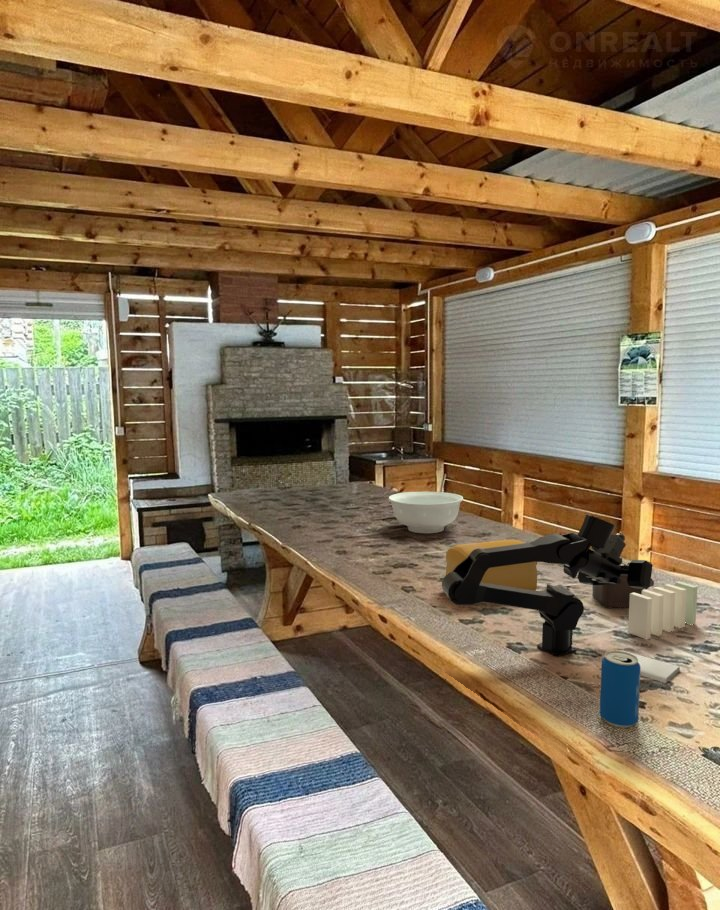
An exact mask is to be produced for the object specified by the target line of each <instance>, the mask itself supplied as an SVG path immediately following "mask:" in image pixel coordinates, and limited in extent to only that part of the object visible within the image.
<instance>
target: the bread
mask: <svg viewBox="0 0 720 910" xmlns="http://www.w3.org/2000/svg"><path fill="white" fill-rule="evenodd" d="M523 543H525V542H524V541H522V540H518V539H502V540H492V541H491V540H490V541H482V542H471V543H459V544H455V545H453V546H450V548H448V550H447V551H446V553H445V561H446V568H445V576H446V575H447V574H449V573H450V572H452V571H453V570H454V569H455V567H456V566H457V565H458V564H459V563H461V562H462V561H463V560H465V559H466V558H467V557H468V556H469V555H470V553H471V552H472V551H473V550H475V549H478V548H480V549H485V548H493V547H501V546H508V545H516V544H523ZM537 566H538V562H529V563H522V564H514V565H507V566H500V567H492V568H488V570H487V571H486V572H485V574H484V576H483V578H482V580H481V582H483V583H489V584H496V585H502V586H509V587H515V588H521V589H528V590H534V591H537V586H538V569H537Z"/></svg>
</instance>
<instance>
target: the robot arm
mask: <svg viewBox="0 0 720 910" xmlns="http://www.w3.org/2000/svg"><path fill="white" fill-rule="evenodd" d="M615 529H616V525H615V524H613V523H611V522H609V521H606V520H605V519H602V518H599V517H597V516H594V515H591V514H589V513H587V514H585V516H584V518H583V522H582V525H581V526H580V529H579V531H578V533H576V532H573V531H572V532H571V531H570V532H568V533H563V534H559V533H549V534H546V535H544V536H540V537H538V538H537V539H535V540H533V541H530V542H524V543H523V544H516V545H508V546H501V547H493V548H485V549H480V548H478V549H475V550H473V551H472V552H471V553H470V555H469V556H468V557H467V558H466V559H465V560H463V561H462V562H461V563H459V564H458V565H457V566H456V567H455V569H454V570H453V571H452V572H450V573H449V574H447V575H446V574H445V576H444V577H443V578H442V581H441V588H442V591H443V592H444V594H445V595H446V596H447V597H448V598H449V600H450V601H451V602H452V604H454V605H457V606H475V605H478V604H481V603H488V604H494V605H500V606H506V607H507V606H508V607H514V608H521V609H526V610H533V611H538V613H539V616H540V617H539V618H541V619H543V620H544V622H543V623H542V629H541V630H542V637H541V638H542V639H541V643H537V644H536V647H537V648H539V649H541V650H543V651H544V652H547V653H549V654H551V655H554V656H555V657H560V656H561V657H562V656H563V655H567V654H571V653H574V652H576V651H577V648H576V647H574V646H572V645H573V632H574V630H576V628H577V625H578V624H579V623H578V622H579V621H580V620H579V619H580V618H581V617H582V616H583V613H584V608H585V607H584V604H583V601H582V600H581V599H580V598H578V597H577V596H576V595H575V594H574V593H573V592H571V591H570V590H568V589H567V588H566V587H565V586H563V585H559V586H556V585H552V584H548V583H547V584H546V589H544V590H536V591H534V590H528V589H521V588H515V587H509V586H502V585H496V584H489V583H483V582H481V580H482V578H483V576H484V574H485V572H486V571H487V570H488V568H492V567H500V566H507V565H514V564H522V563H529V562H537V563H545V564H553V565H554V564H555V565H556V564H557V565H563V573H564V574H566V575H568V576H569V577H571V578H573V579H576V577H577V580H578V582H579V583H580V584H583V585H588V586H593V585H598V586H599V585H611V584H620V583H621V579H620V578H619V577H620V576H628V577H627V582H628V585H629V586H630V587H633V588H635V589H643V590H648V589H649V588H653V587H654V586H655V582H654V580H653V578H652V574H653V573H652V572H653V564H652V562H651V561H648V560H645V559H632V560H631V561H629V563H630V564H629V566H624V565H620V564H622V563H623V558H622V557H621V555H622V553H623V550H624V548H626V545H627V544H626V542H625V540H624V541H623V540H622V539H621V538H620V537H619V536H618V535H614V533H613V532H614V530H615ZM619 556H620V557H619Z"/></svg>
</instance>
